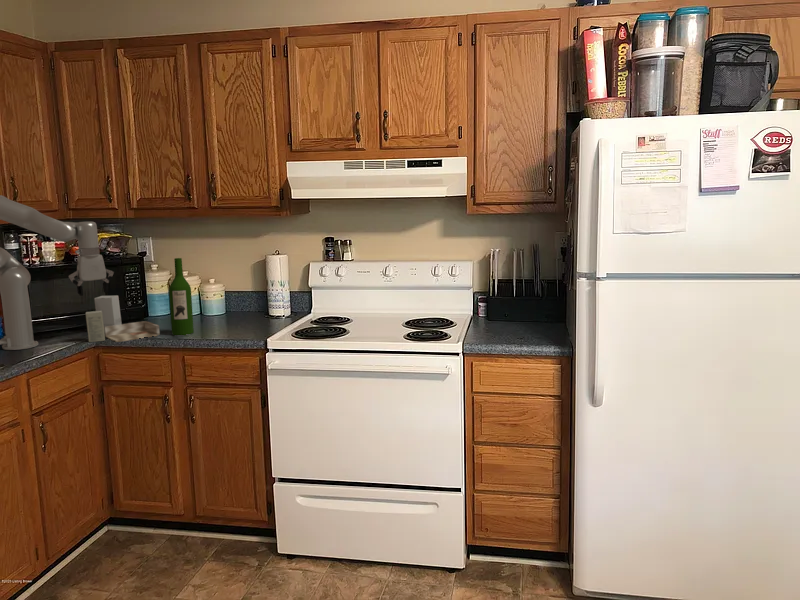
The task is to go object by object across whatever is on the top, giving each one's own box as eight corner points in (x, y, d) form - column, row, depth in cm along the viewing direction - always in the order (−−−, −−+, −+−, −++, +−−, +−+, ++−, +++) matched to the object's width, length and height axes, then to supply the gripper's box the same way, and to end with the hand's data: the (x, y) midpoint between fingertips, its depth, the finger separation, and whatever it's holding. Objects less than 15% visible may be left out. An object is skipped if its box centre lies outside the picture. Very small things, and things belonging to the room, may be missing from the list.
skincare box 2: (122, 329, 304) (119, 295, 302) (115, 332, 298) (112, 297, 295) (104, 329, 305) (101, 295, 302) (96, 332, 298) (93, 297, 296)
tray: (116, 342, 278) (115, 331, 277) (105, 337, 288) (104, 326, 288) (159, 335, 290) (159, 325, 289) (147, 330, 300) (146, 320, 299)
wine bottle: (172, 336, 288) (166, 259, 283) (172, 332, 296) (166, 257, 291) (194, 334, 290) (189, 258, 285) (193, 330, 299) (188, 257, 294)
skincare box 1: (105, 339, 285) (102, 310, 283) (105, 341, 281) (102, 311, 279) (88, 340, 282) (85, 311, 280) (87, 342, 278) (85, 313, 276)
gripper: (69, 254, 267) (74, 297, 270) (114, 250, 278) (118, 292, 281) (63, 253, 273) (68, 295, 276) (108, 250, 284) (112, 290, 287)
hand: (93, 293), depth 278 cm, fingers open, 9 cm apart
